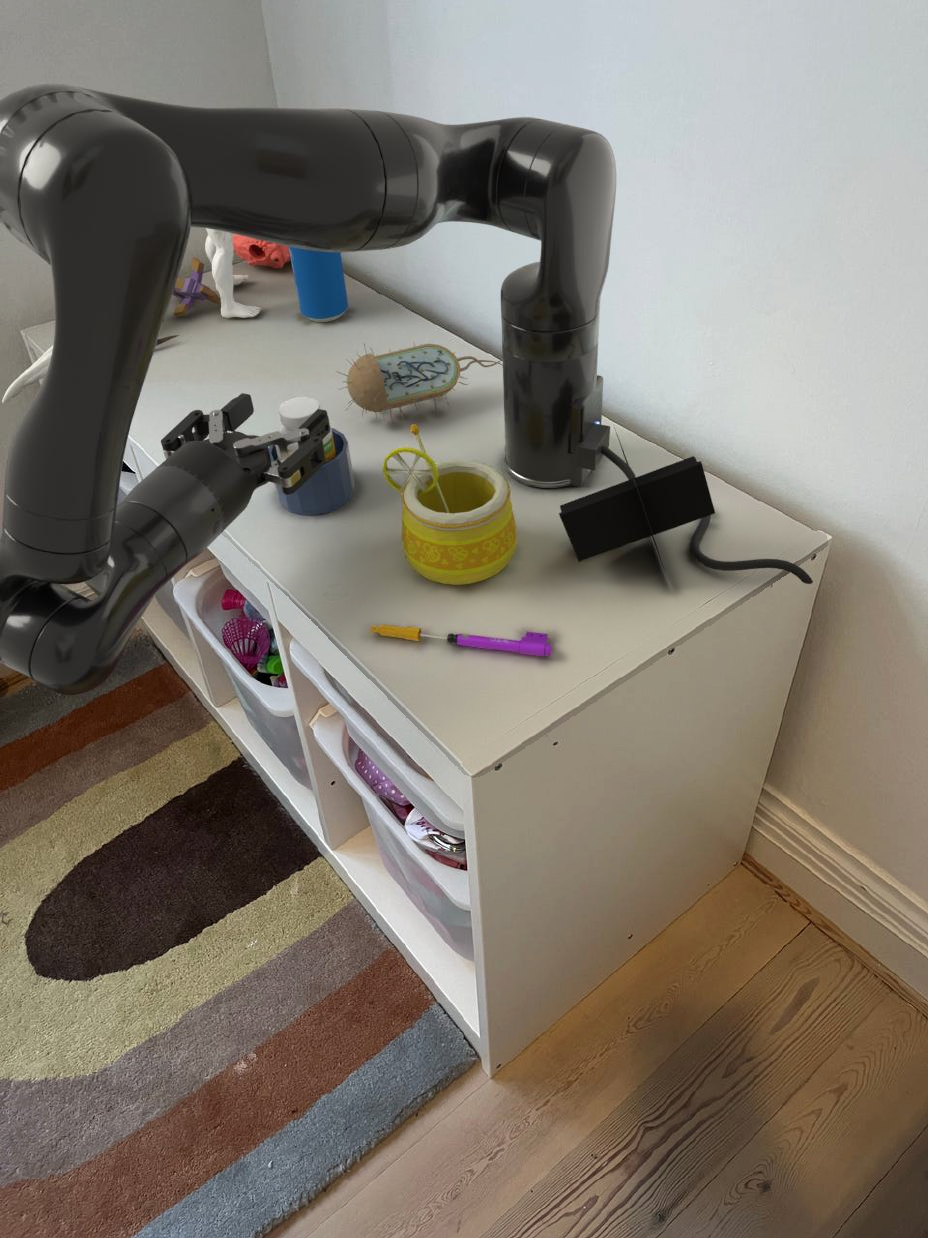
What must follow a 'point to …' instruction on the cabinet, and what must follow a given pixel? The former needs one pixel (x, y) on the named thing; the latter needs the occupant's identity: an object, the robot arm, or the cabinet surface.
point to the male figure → (226, 273)
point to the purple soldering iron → (476, 640)
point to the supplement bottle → (297, 414)
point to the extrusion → (637, 508)
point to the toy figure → (192, 289)
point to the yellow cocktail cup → (454, 518)
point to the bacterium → (404, 377)
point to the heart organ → (260, 251)
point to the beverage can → (319, 284)
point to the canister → (322, 483)
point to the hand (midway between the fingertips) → (286, 409)
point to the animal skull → (29, 376)
